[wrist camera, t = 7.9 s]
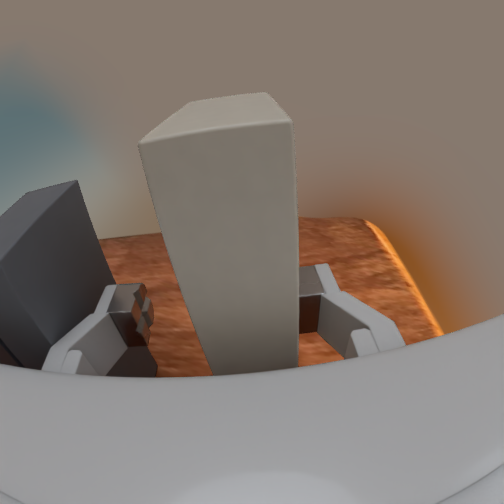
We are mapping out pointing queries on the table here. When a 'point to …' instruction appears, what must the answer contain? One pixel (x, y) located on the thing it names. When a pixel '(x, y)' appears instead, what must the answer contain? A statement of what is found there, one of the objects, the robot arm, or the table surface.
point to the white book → (231, 226)
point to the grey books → (53, 278)
